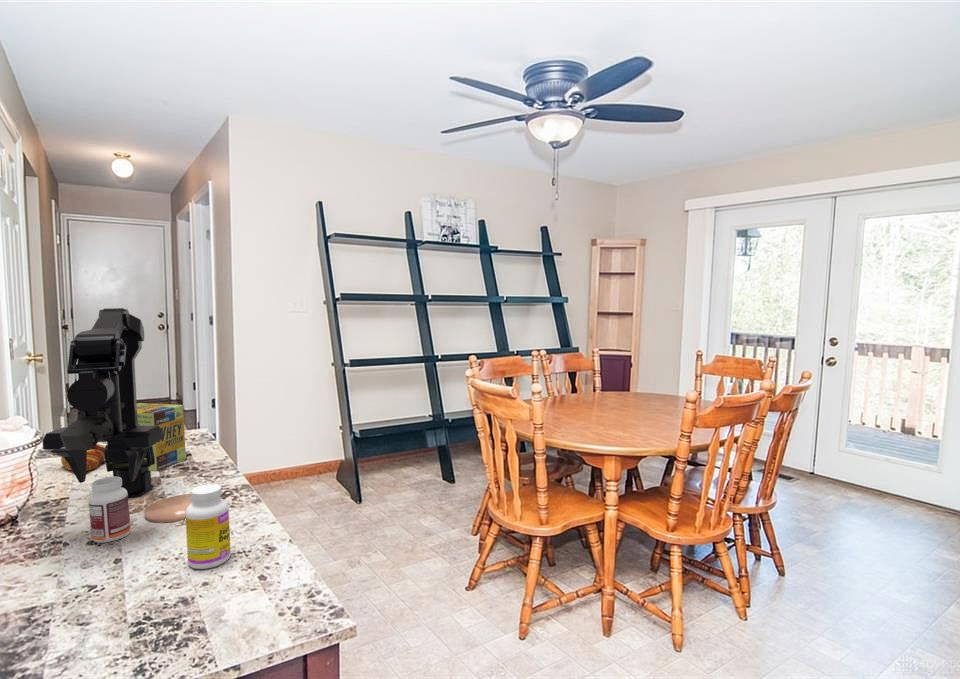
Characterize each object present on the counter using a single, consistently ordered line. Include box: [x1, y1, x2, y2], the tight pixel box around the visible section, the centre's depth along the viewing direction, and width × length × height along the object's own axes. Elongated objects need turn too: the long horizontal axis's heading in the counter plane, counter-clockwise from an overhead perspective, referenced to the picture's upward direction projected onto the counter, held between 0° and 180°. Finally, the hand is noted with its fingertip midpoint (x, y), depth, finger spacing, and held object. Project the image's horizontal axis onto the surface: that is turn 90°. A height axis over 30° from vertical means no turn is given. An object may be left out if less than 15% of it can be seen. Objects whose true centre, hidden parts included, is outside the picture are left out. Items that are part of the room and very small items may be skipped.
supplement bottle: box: [185, 483, 232, 570], centre depth 93 cm, size 7×7×13 cm
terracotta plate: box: [143, 493, 193, 524], centre depth 116 cm, size 13×13×1 cm
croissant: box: [60, 442, 105, 472], centre depth 146 cm, size 21×10×8 cm, turn 37°
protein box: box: [137, 402, 187, 472], centre depth 146 cm, size 10×15×16 cm
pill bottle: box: [88, 476, 131, 544], centre depth 103 cm, size 6×6×11 cm
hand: (107, 481), depth 102 cm, fingers open, 9 cm apart
